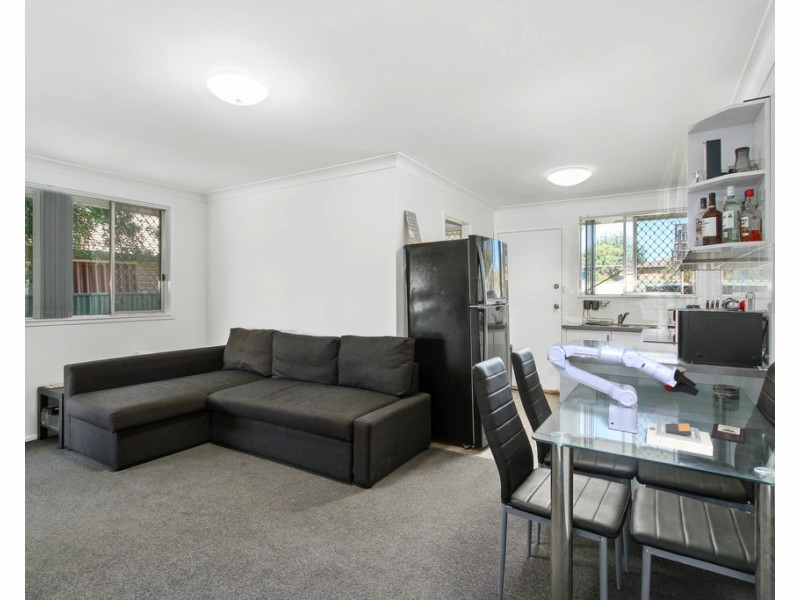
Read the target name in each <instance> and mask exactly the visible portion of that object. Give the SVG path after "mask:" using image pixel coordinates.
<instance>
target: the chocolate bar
mask: <svg viewBox="0 0 800 600" xmlns="http://www.w3.org/2000/svg"><path fill="white" fill-rule="evenodd" d="M745 431H746V430H745V428H741V427H735V426H731V425H725V424H719V423H714V425H713V428H712V432H711V436H710V439H716V440H722V441H727V442H730V443H731V442H732V443H737V444H741V445H744V444H745V433H746V432H745Z"/></svg>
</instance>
